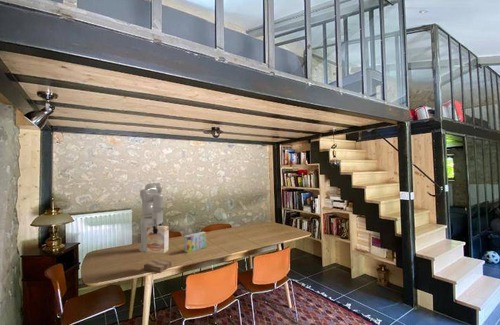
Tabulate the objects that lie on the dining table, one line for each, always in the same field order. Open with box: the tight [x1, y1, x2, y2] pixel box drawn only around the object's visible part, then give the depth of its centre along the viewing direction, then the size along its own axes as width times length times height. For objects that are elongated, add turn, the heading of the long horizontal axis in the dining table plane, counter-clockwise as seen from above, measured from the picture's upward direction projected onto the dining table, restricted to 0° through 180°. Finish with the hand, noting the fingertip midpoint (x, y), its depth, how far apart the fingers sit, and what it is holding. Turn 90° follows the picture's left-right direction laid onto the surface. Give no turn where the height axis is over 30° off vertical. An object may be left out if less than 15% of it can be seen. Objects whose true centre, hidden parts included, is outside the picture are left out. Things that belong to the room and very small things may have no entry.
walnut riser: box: [143, 258, 172, 274], centre depth 189 cm, size 12×16×4 cm
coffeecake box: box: [146, 225, 170, 254], centre depth 189 cm, size 15×7×20 cm, turn 81°
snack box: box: [183, 231, 207, 254], centre depth 230 cm, size 21×6×15 cm, turn 135°
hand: (157, 231), depth 189 cm, fingers closed on coffeecake box, 7 cm apart
